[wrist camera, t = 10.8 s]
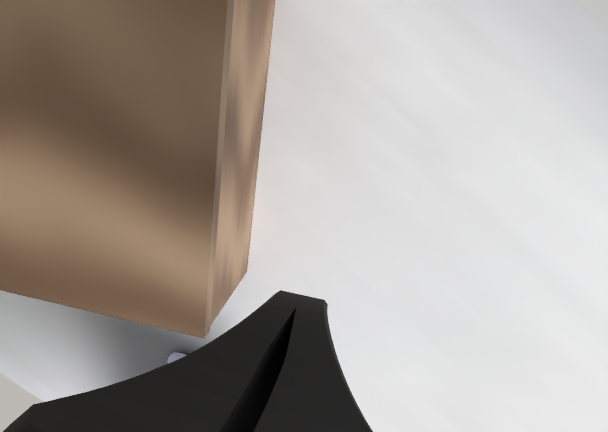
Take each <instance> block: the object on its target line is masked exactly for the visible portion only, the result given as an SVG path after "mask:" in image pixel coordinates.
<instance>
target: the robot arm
mask: <svg viewBox="0 0 608 432" xmlns="http://www.w3.org/2000/svg"><path fill="white" fill-rule="evenodd" d="M327 306H328V305H327V303H326V302H325V300H322V299H317V298H313V297H308V296H303V295H299V294H294V293H290V292H285V291H279V292H277V293H276V294H275V295H273V296H272V297H271V298H270V299H269V300H268V301H267V302H265V303H264V304H263V305H262V306H261V307H259V308H258V309H257V310H256V311H254V312H253V313H252V314H251V315H249V316H248V317H247V318H245V319H244V320H243V321H241V322H240V323H239V324H237V325H236V326H234V327H233V328H231V329H230V330H228V331H227V332H225V333H224V334H222V335H221V336H219V337H218V338H216V339H215V340H213V341H212V342H210V343H208V344H206V345H205V346H203V347H201V348H200V349H198V350H196V351H194V352H192V353H190V354H188V355H186V354H182V353H178V352H174V353H172V354H171V355H170V356H169V358H168V360H167V364H166V365H164V366H161V367H159V368H157V369H154V370H152V371H149V372H147V373H145V374H142V375H139V376H136V377H134V378H131V379H128V380H125V381H122V382H119V383H116V384H112V385H109V386H106V387H103V388H99V389H96V390H92V391H89V392H85V393H81V394H77V395H72V396H68V397H64V398H60V399H56V400H52V401H48V402H43V403H38V404H33V405H32V406H31V407H30V408H29V409H28V410H26V411H25V412H24V413H23V414H22V415H21V416H20V417H18V418H17V419H16V420H15V421H14V422H13V423H11V424H10V425H9V426H8V427H7V428H6V429H5V430H4V431H3V432H373V431H372V430H371V428H370V426H369V425H368V423H367V422H366V420H365V418H364V416H363V414H362V413H361V411H360V409H359V407H358V405H357V403H356V401H355V399H354V397H353V395H352V393H351V391H350V389H349V387H348V384H347V382H346V380H345V377H344V375H343V372H342V369H341V367H340V364H339V361H338V358H337V355H336V352H335V349H334V345H333V341H332V338H331V334H330V329H329V324H328V317H327Z"/></svg>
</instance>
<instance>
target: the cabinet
mask: <svg viewBox="0 0 608 432" xmlns="http://www.w3.org/2000/svg"><path fill="white" fill-rule="evenodd" d="M274 5H275V0H0V290H2V291H6V292H10V293H15V294H19V295H23V296H27V297H32V298H36V299H40V300H44V301H49V302H53V303H57V304H61V305H66V306H70V307H74V308H78V309H82V310H87V311H91V312H95V313H99V314H104V315H108V316H112V317H116V318H121V319H125V320H129V321H133V322H138V323H142V324H146V325H150V326H155V327H159V328H163V329H167V330H171V331H176V332H180V333H184V334H188V335H193V336H197V337H201V338H205V336H206V335H207V333H208V332H209V330H210V325H211V324H212V322H213V321H214V319H215V318H216V316H217V315H218V314H219V312H220V311H221V309H222V308H223V306H224V305H225V303H226V302H227V300H228V299H229V297H230V296H231V294H232V293H233V291H234V290H235V288H236V287H237V285H238V284H239V282H240V281H241V279H242V278H243V276H244V275H245V274H246V272H247V264H248V254H249V244H250V235H251V225H252V216H253V206H254V197H255V187H256V177H257V168H258V158H259V149H260V139H261V129H262V120H263V110H264V101H265V91H266V82H267V72H268V62H269V53H270V43H271V34H272V24H273V14H274Z"/></svg>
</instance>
